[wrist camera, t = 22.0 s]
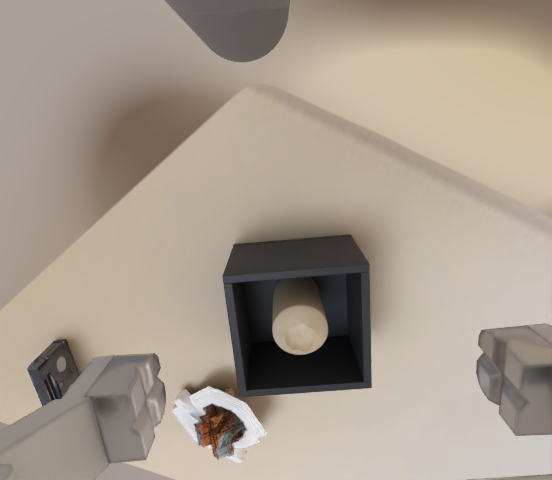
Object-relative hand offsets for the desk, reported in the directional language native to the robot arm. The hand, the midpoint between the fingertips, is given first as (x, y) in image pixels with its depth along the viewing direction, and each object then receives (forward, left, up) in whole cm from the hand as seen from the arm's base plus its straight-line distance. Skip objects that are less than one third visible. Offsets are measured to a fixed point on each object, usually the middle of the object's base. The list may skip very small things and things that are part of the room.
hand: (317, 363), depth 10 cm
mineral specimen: (+30, -11, -34) cm, 47 cm away
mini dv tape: (+22, -30, -34) cm, 51 cm away
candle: (+14, 0, -34) cm, 36 cm away
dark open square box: (+14, 0, -34) cm, 37 cm away
